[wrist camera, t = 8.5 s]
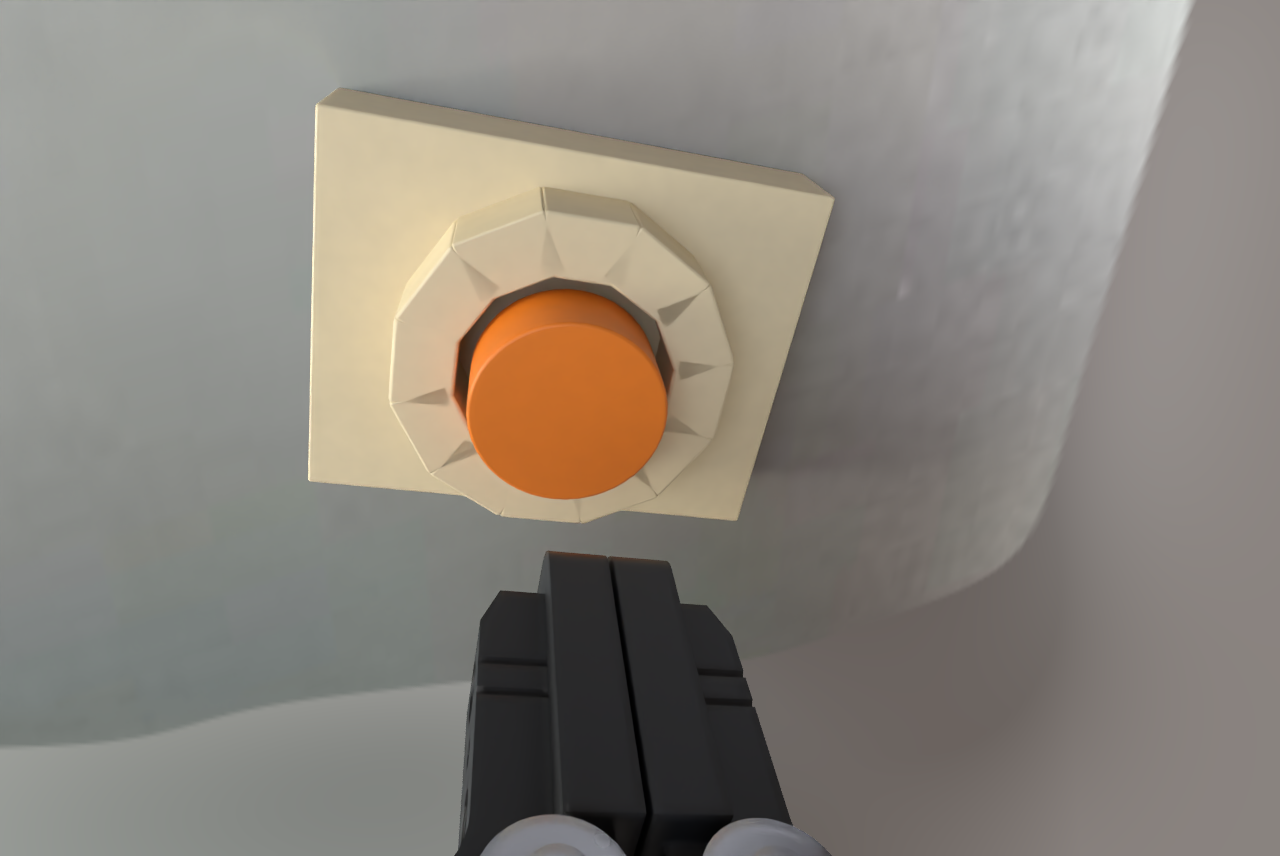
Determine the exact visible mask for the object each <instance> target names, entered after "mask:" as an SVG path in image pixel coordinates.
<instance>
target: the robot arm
mask: <svg viewBox="0 0 1280 856" xmlns="http://www.w3.org/2000/svg"><path fill="white" fill-rule="evenodd" d="M455 856H831V854H830V853H829V852H828V851H827V850H826V849H825V848H824V847H823V846H822V845H821V844H820V843H818V842H817V841H816V840H815V839H814V838H812V837H811V836H809V835H808V834H806V833H805V832H803V831H801V830H799V829H797V828H795V827H793V824H792V822H791V819H790V817H789V813H788V810H787V807H786V804H785V801H784V798H783V795H782V791H781V788H780V785H779V782H778V779H777V776H776V773H775V769H774V766H773V763H772V760H771V757H770V754H769V750H768V747H767V745H766V741H765V738H764V735H763V732H762V728H761V725H760V722H759V719H758V716H757V713H756V710H755V707H752V697H751V694H750V690H749V687H748V684H747V681H746V678H743V668H742V665H741V662H740V659H739V656H738V653H737V649H736V646H735V643H734V640H733V637H732V635H731V634H730V633H729V632H728V630H727V629H726V628H725V627H724V626H723V624H722V623H721V622H720V621H719V620H718V618H717V617H716V616H715V615H714V614H713V612H712V611H711V610H710V609H709V608H708V606H706V605H692V604H680V600H679V596H678V592H677V589H676V585H675V581H674V577H673V573H672V569H671V566H670V564H669V563H668V562H667V561H660V560H648V559H636V558H624V557H611V556H610V557H608V559H607V557H606V556H602V555H590V554H578V553H566V552H553V551H547V552H546V553H545V556H544V560H543V565H542V570H541V575H540V581H539V586H538V592H537V593H527V592H513V591H500V592H499V593H498V595H497V596H496V598H495V599H494V601H493V602H492V604H491V605H490V607H489V608H488V610H487V611H486V613H485V614H484V616H483V617H482V618H481V620H480V627H479V634H478V641H477V648H476V655H475V662H474V669H473V676H472V683H471V691H470V697H469V704H468V711H467V723H466V738H465V756H464V769H463V787H462V800H461V815H460V831H459V846H458V851H457V853H456V854H455Z"/></svg>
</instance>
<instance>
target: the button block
mask: <svg viewBox="0 0 1280 856" xmlns="http://www.w3.org/2000/svg"><path fill="white" fill-rule="evenodd" d="M834 201H835V198H834V197H833V196H831V195H830V194H829V193H827V192H826V191H825V190H823V189H822V188H821V187H819V186H818V185H817V184H815V183H814V182H813V181H811V180H810V179H809V178H807V177H806V176H805V175H803V174H801V173H795V172H790V171H784V170H779V169H774V168H768V167H763V166H758V165H752V164H747V163H742V162H736V161H731V160H725V159H720V158H715V157H709V156H704V155H699V154H693V153H688V152H682V151H677V150H672V149H666V148H661V147H656V146H650V145H645V144H640V143H634V142H629V141H623V140H618V139H613V138H607V137H602V136H597V135H591V134H586V133H580V132H575V131H570V130H564V129H559V128H554V127H548V126H543V125H538V124H532V123H527V122H521V121H516V120H511V119H505V118H500V117H495V116H489V115H484V114H479V113H473V112H468V111H462V110H457V109H452V108H446V107H441V106H436V105H430V104H425V103H419V102H414V101H409V100H403V99H398V98H393V97H387V96H382V95H377V94H371V93H366V92H360V91H355V90H350V89H344V88H338V89H336V90H335V91H333V92H332V93H331V94H329V95H328V96H327V97H325V98H324V99H323V100H321V101H320V102H319V103H317V104H316V106H315V156H314V208H313V260H312V312H311V364H310V416H309V468H308V479H309V481H312V482H322V483H333V484H344V485H355V486H366V487H376V488H387V489H398V490H409V491H420V492H430V493H441V494H452V495H463V496H466V497H468V498H470V499H471V500H473V501H475V502H476V503H478V504H480V505H481V506H483V507H485V508H486V509H488V510H490V511H491V512H493V513H495V514H496V515H500V514H501V516H503V517H513V518H524V519H535V520H547V521H558V522H569V523H580V522H581V523H582V524H584V523H587V522H590V521H592V520H595V519H598V518H601V517H604V516H606V515H609V514H612V513H615V512H618V511H621V510H625V511H636V512H646V513H657V514H668V515H679V516H689V517H700V518H711V519H722V520H733V521H736V520H737V519H738V516H739V513H740V510H741V506H742V503H743V500H744V496H745V493H746V490H747V487H748V483H749V480H750V477H751V473H752V470H753V467H754V464H755V460H756V457H757V454H758V450H759V447H760V444H761V441H762V437H763V434H764V431H765V427H766V424H767V421H768V418H769V414H770V411H771V408H772V404H773V401H774V398H775V395H776V391H777V388H778V385H779V382H780V378H781V375H782V372H783V368H784V365H785V362H786V359H787V355H788V352H789V349H790V345H791V342H792V339H793V336H794V332H795V329H796V326H797V322H798V319H799V316H800V313H801V309H802V306H803V303H804V299H805V296H806V293H807V290H808V286H809V283H810V280H811V276H812V273H813V270H814V267H815V263H816V260H817V257H818V253H819V250H820V247H821V244H822V240H823V237H824V234H825V230H826V227H827V224H828V221H829V217H830V214H831V211H832V207H833V204H834ZM553 289H573V290H582V291H586V292H591V293H594V294H597V295H600V296H603V297H605V298H607V299H609V300H611V301H613V302H615V303H616V304H617V305H619V306H620V307H622V308H623V309H625V310H626V311H627V312H628V313H629V314H630V315H631V316H632V317H633V318H634V319H635V320H636V321H637V322H638V324H639V325H640V326H641V328H642V329H643V331H644V333H645V334H646V336H647V338H648V341H649V343H650V345H651V348H652V351H653V354H654V356H655V359H656V362H657V365H658V368H659V371H660V373H661V376H662V379H663V382H664V386H665V389H666V394H667V401H668V415H667V421H666V427H665V430H664V433H663V436H662V439H661V441H660V443H659V445H658V447H657V449H656V450H655V452H654V454H653V455H652V457H651V458H650V459H649V461H648V462H647V463H646V464H645V465H644V467H643V468H642V469H640V470H639V471H638V472H637V473H636V474H635V475H634V476H633V477H631V478H630V479H628V480H627V481H626V482H624V483H622V484H621V485H619V486H617V487H615V488H613V489H611V490H609V491H606V492H604V493H601V494H598V495H594V496H591V497H586V498H580V499H569V500H562V499H549V498H543V497H539V496H535V495H531V494H528V493H526V492H523V491H521V490H518V489H516V488H515V487H513V486H511V485H509V484H507V483H506V482H505V481H503V480H502V479H500V478H499V477H498V476H497V475H496V474H494V473H493V472H492V471H491V470H490V469H489V468H488V467H487V465H486V464H485V463H484V462H483V461H482V459H481V458H480V456H479V455H478V453H477V451H476V450H475V448H474V445H473V443H472V441H471V438H470V434H469V431H468V427H467V418H466V408H467V396H468V387H469V377H470V368H471V361H472V356H473V352H474V349H475V347H476V344H477V342H478V340H479V338H480V336H481V334H482V332H483V331H484V329H485V328H486V327H487V325H488V324H489V323H490V322H491V321H492V319H493V318H494V317H495V316H496V315H497V314H498V313H500V312H501V311H502V310H503V309H505V308H506V307H507V306H509V305H511V304H512V303H514V302H516V301H517V300H519V299H522V298H524V297H526V296H528V295H531V294H535V293H538V292H542V291H547V290H553Z"/></svg>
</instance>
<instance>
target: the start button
mask: <svg viewBox="0 0 1280 856" xmlns="http://www.w3.org/2000/svg"><path fill="white" fill-rule="evenodd" d="M667 415H668V401H667V394H666V389H665V386H664V382H663V379H662V376H661V373H660V371H659V368H658V365H657V362H656V359H655V356H654V354H653V351H652V348H651V345H650V343H649V341H648V338H647V336H646V334H645V333H644V331H643V329H642V328H641V326H640V325H639V324H638V322H637V321H636V320H635V319H634V318H633V317H632V316H631V315H630V314H629V313H628V312H627V311H626V310H625V309H623V308H622V307H620V306H619V305H617V304H616V303H615V302H613V301H611V300H609V299H607V298H605V297H603V296H600V295H597V294H594V293H591V292H586V291H582V290H573V289H553V290H547V291H542V292H538V293H535V294H531V295H528V296H526V297H524V298H522V299H519V300H517V301H516V302H514V303H512V304H511V305H509V306H507V307H506V308H505V309H503V310H502V311H501V312H500V313H498V314H497V315H496V316H495V317H494V318H493V319H492V321H491V322H490V323H489V324H488V325H487V327H486V328H485V329H484V331H483V332H482V334H481V336H480V338H479V340H478V342H477V344H476V347H475V349H474V352H473V356H472V361H471V368H470V377H469V387H468V396H467V408H466V418H467V427H468V431H469V434H470V438H471V441H472V443H473V445H474V448H475V450H476V451H477V453H478V455H479V456H480V458H481V459H482V461H483V462H484V463H485V464H486V465H487V467H488V468H489V469H490V470H491V471H492V472H493V473H494V474H496V475H497V476H498V477H499V478H500V479H502V480H503V481H505V482H506V483H507V484H509V485H511V486H513V487H515V488H516V489H518V490H521V491H523V492H526V493H528V494H531V495H535V496H539V497H543V498H549V499H562V500H569V499H580V498H586V497H591V496H594V495H598V494H601V493H604V492H606V491H609V490H611V489H613V488H615V487H617V486H619V485H621V484H622V483H624V482H626V481H627V480H628V479H630V478H631V477H633V476H634V475H635V474H636V473H637V472H638V471H639V470H640V469H642V468H643V467H644V465H645V464H646V463H647V462H648V461H649V459H650V458H651V457H652V455H653V454H654V452H655V450H656V449H657V447H658V445H659V443H660V441H661V439H662V436H663V433H664V430H665V427H666V421H667Z"/></svg>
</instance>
